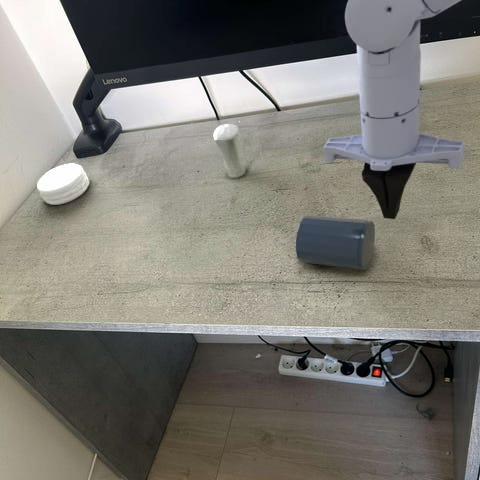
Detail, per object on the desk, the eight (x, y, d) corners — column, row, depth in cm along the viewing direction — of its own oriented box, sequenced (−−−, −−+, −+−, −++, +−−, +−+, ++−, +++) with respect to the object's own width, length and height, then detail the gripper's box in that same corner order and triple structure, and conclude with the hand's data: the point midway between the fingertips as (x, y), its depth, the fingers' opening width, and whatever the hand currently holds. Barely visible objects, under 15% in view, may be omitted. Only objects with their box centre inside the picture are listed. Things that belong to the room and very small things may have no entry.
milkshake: (249, 179, 88) (235, 127, 80) (222, 180, 90) (206, 129, 82) (256, 165, 90) (244, 113, 83) (229, 166, 92) (215, 116, 85)
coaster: (86, 171, 105) (78, 156, 102) (93, 192, 98) (85, 177, 96) (42, 190, 104) (33, 176, 101) (47, 212, 97) (38, 197, 95)
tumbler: (376, 215, 65) (312, 210, 69) (363, 229, 60) (295, 223, 64) (373, 260, 68) (312, 253, 72) (360, 277, 63) (295, 268, 67)
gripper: (307, 124, 50) (322, 227, 60) (457, 126, 44) (447, 242, 53) (331, 90, 54) (342, 193, 64) (473, 87, 47) (461, 203, 57)
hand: (391, 213), depth 59 cm, fingers closed
